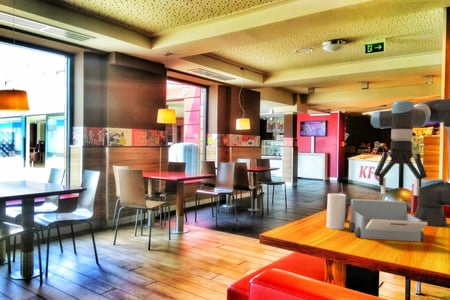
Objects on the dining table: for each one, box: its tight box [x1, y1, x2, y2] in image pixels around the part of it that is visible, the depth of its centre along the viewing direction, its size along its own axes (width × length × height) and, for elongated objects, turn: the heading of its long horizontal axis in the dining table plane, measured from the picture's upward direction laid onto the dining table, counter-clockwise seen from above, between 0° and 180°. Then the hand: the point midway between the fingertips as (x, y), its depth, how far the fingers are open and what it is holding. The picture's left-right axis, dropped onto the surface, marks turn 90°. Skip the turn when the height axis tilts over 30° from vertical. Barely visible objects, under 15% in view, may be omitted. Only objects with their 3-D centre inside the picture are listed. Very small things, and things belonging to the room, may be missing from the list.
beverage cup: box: [338, 182, 352, 223], centre depth 173 cm, size 7×7×20 cm
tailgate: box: [366, 219, 428, 232], centre depth 134 cm, size 21×1×9 cm
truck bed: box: [348, 198, 425, 243], centre depth 148 cm, size 27×18×14 cm, turn 83°
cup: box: [326, 192, 346, 231], centre depth 158 cm, size 8×8×16 cm
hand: (399, 194), depth 131 cm, fingers open, 12 cm apart
